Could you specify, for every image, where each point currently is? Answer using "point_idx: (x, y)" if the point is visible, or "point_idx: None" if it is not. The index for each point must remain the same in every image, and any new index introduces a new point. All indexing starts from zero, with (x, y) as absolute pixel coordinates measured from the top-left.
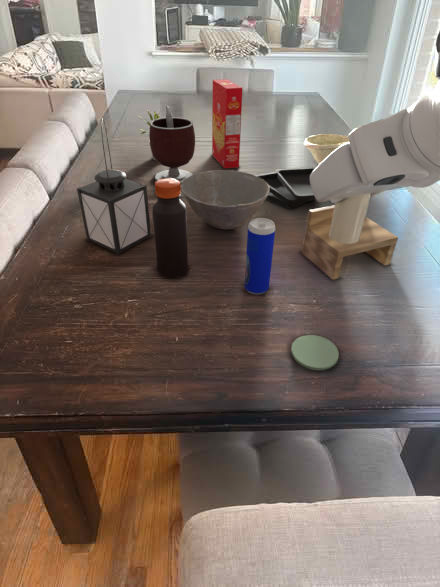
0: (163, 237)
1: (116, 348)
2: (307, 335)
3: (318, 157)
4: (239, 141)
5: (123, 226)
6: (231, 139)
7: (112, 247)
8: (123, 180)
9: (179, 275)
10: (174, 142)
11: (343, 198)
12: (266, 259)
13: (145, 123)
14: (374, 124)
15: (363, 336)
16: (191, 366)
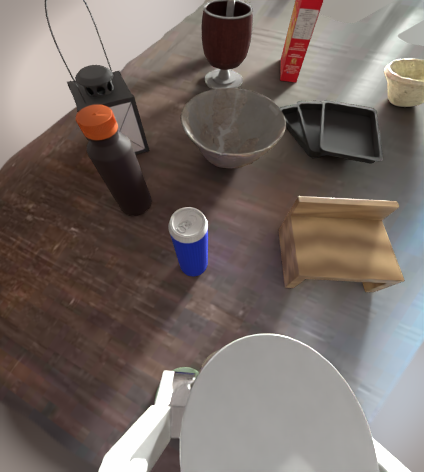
0: (103, 179)
1: (16, 287)
2: (192, 369)
3: (391, 92)
4: (306, 49)
5: None
6: (297, 45)
7: None
8: (119, 82)
9: (133, 214)
10: (220, 37)
11: (176, 436)
12: (190, 259)
13: None
14: None
15: None
16: (55, 348)
